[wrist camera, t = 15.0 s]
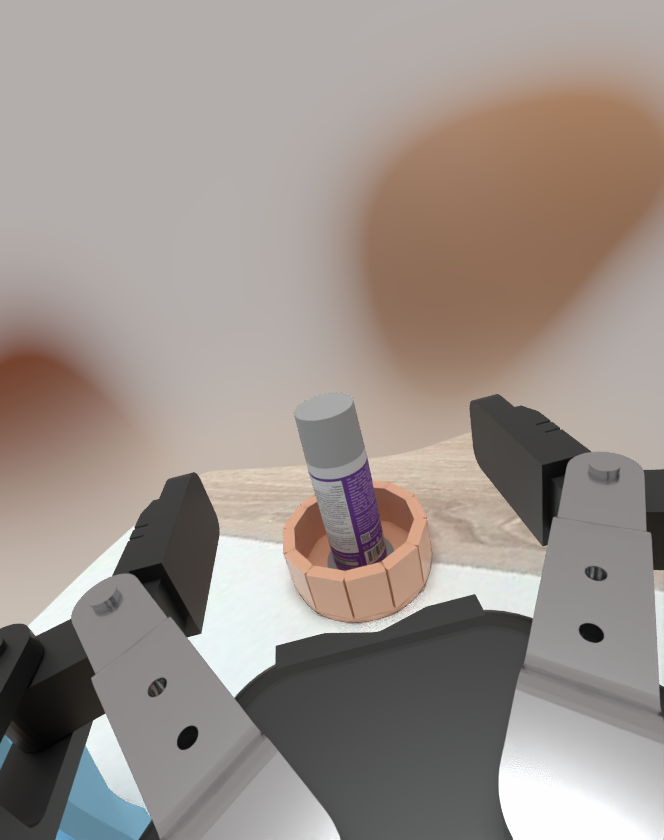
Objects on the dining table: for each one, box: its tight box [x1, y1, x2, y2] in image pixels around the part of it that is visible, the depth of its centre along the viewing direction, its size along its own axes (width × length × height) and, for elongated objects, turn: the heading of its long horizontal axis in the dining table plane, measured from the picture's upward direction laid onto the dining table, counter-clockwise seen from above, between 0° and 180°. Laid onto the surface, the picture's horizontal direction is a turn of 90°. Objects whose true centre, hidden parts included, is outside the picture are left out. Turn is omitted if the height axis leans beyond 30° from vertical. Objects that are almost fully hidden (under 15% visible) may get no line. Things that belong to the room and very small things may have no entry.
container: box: [294, 393, 387, 571], centre depth 34 cm, size 5×5×15 cm
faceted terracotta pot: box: [283, 481, 432, 622], centre depth 37 cm, size 12×12×5 cm
